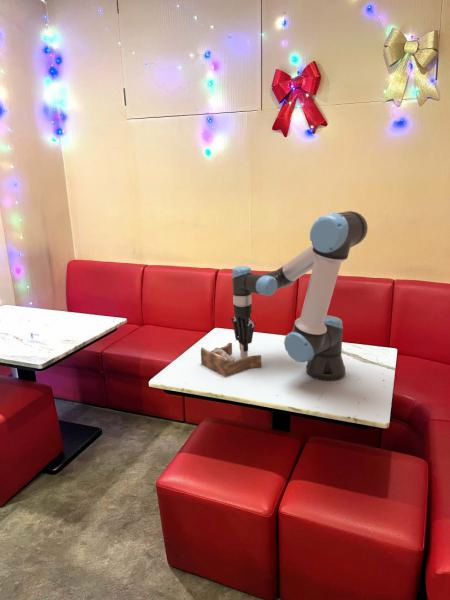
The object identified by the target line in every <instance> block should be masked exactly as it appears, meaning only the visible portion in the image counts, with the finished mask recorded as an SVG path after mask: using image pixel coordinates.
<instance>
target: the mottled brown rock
mask: <svg viewBox="0 0 450 600" xmlns="http://www.w3.org/2000/svg"><path fill="white" fill-rule="evenodd" d="M212 350H213V353H215V354H218V355H220V356H222V357H224V358H226V359H227V361H228V364H229V363H231V362H234V361H236V358H235V356H233V355H228V354H227V353H226V352H225V351H224V350H222V349H221V347H215V348H214V349H212Z"/></svg>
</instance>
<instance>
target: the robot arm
mask: <svg viewBox="0 0 450 600" xmlns="http://www.w3.org/2000/svg"><path fill="white" fill-rule="evenodd" d="M309 231H310V232H309V240H310V241H311V245H310V246H309V247H308V248H306V249H304V250H303V251H302V252H300V253H299V254H298V255H296V256H295V257H293V258H292V259H291V260H289V261H288V262H286V263H285V264H284V265H282V266H281V267H280V268H278V269H276V270H272V271H269V272H265V273H262V274H260V273H259V274H258V273H252V268H251V267H249V266H245V265H243V266H241V265H240V266H236V267H233V269H232V277H231V279H232V296H233V297H232V300H233V301H232V303H233V314H234V317H233V316H232V317H231V318H230V320H231V323H232V326H233V332H234V336H235V341H238V343H239V351H240V353H239V354H240V359H243V358H245V357H248V351H249V344H252V342H253V336H254V330H255V327H256V322H253V321H252V317H251V315H252V312H253V309H252V308H253V305H252V302H253V300H252V294H257V295H261V296H272V295H273V296H274V294H275V293H276V291H277V290H279V289H283V288H287V287H289V286H291V285H293V284H294V283H295V281H296V280H297V279H299V278H300V277H301V278H302V276H304V275H305V274H307V273H308V272H310V271H311V273H310V278H309V282H308V285H307V289H306V293H305V298H304V301H303V305H302V308H301V314H300V317H298V318H297V319H295V320H294V324H293V327H292V331H291V332H290V331H289V333H287V334H286V336H285V337H284V342H283V344H284V345H283V346H284V348H285V351H286V352H287V354H288V356H289V357H290V358H291V359H292V360H294V361H295V362H298V363H307V364H306V367H305V369H306V370H305V372H306V375H307V376H309V377H310V378H313V379H316V380H320V381H326V382H327V381H329V382H330V381H337V380H341V379H342V378H344V377H346V366H345V364H344V359H343V357H342V351H343V349H342V347H343V332H344V331H343V329H344V326H343V321H342V319H341V318H339V317H337V316H333V315H328V310H329V307H330V305H331V300H332V297H333V294H334V289H335V286H336V282H337V279H338V277H339V276H338V275H339V271H340V269H341V265H342V262H344V261H346V260H348V256H349V253H350V250H351V248H352V247H355V246H357V245H359V244H360V243H362V241H364V239H365V238H366V236H367V233H368V223H367V221H366V219H365V217H364V216H363V215H362V214H361V213H359V212H357V211H352V210H350V211H349V210H348V211H344V212H343V211H342V212H331V213H327V214H325V215H322V216H320V217H318V218H317V219H316V220H315V221H314V222H313V224H312V226H311V227H310V230H309Z"/></svg>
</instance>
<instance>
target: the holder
mask: <svg viewBox="0 0 450 600" xmlns="http://www.w3.org/2000/svg"><path fill="white" fill-rule="evenodd" d="M220 348H221V349H222V350H224V351H225V352H226V353H227V354H228V355H230V356H232V355H233V342H228V343H227V344H226V345H225V346H222V347H220ZM213 350H214V349H212V350H209V349H207V348H205V347H203V346H201V348H200V362H201V366H203V367H207V368H208V369H209V370H211V371H213V372H215V373H217V374H219V375H221V376H223V377H225V378H228V377H230V376H234V375H236V374H239V373H241V372H245V371H247V370H250V369H257V368H258V369H259V368H262V355H261V354H257V355H249V356H248V357H245V358H243V359H242V358H240V359H238V360H235V361H234V362H231V363H229V364H228V361H227V359H226V358H224V357H222V356H220V355H218V354H215V353H213Z"/></svg>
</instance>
